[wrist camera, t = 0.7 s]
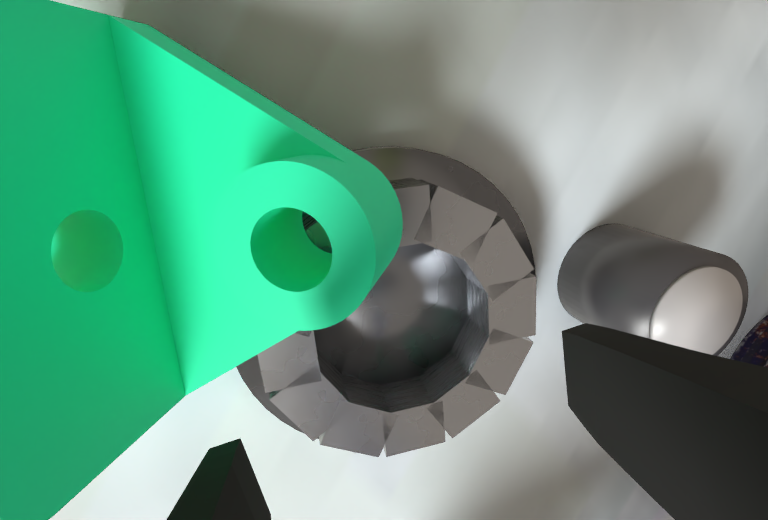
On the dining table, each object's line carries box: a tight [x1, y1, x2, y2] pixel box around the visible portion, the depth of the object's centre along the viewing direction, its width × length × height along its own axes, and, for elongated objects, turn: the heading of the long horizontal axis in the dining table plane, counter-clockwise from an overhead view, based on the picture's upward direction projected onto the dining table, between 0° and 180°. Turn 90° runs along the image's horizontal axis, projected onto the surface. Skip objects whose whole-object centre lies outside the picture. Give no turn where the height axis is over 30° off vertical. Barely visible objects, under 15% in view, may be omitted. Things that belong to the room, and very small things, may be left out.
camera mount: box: [0, 0, 403, 520], centre depth 11 cm, size 12×8×10 cm
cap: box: [557, 224, 748, 356], centre depth 19 cm, size 5×5×5 cm
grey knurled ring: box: [236, 146, 536, 457], centre depth 18 cm, size 13×13×3 cm
